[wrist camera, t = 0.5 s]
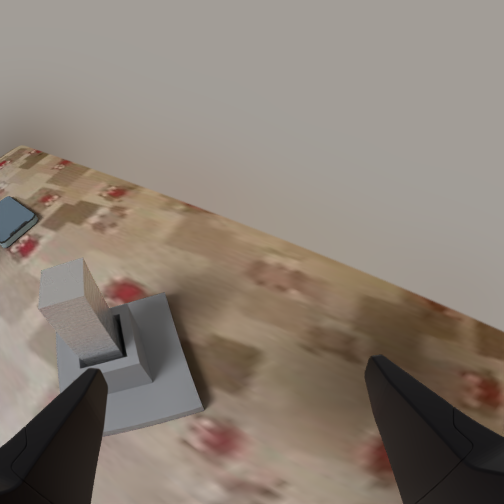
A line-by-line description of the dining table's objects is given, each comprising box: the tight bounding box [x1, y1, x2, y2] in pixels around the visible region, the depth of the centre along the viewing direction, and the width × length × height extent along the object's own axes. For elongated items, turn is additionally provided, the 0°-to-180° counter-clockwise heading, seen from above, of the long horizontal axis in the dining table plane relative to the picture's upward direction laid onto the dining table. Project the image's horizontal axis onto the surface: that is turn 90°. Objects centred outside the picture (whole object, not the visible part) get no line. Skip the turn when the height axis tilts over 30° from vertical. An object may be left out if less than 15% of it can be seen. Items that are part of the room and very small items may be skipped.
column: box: [38, 258, 127, 367], centre depth 20 cm, size 4×3×10 cm
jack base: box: [56, 292, 204, 437], centre depth 23 cm, size 12×12×6 cm
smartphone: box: [0, 196, 38, 248], centre depth 40 cm, size 8×2×15 cm
